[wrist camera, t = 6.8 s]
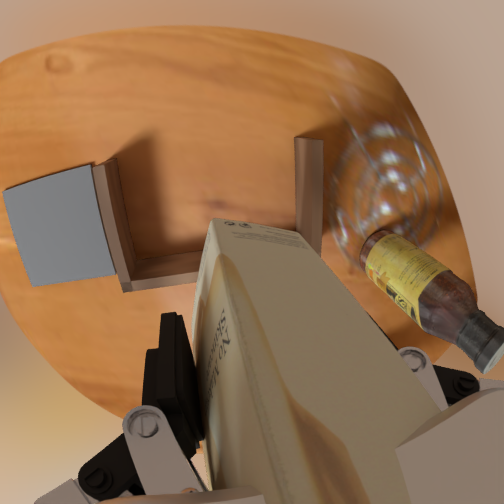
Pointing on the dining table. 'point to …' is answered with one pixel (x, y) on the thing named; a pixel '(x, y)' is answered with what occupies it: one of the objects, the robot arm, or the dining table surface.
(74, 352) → the dining table surface
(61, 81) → the dining table surface
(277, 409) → the skincare box
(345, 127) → the dining table surface
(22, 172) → the dining table surface
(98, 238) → the grey rubber mat
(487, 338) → the sauce bottle
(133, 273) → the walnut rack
